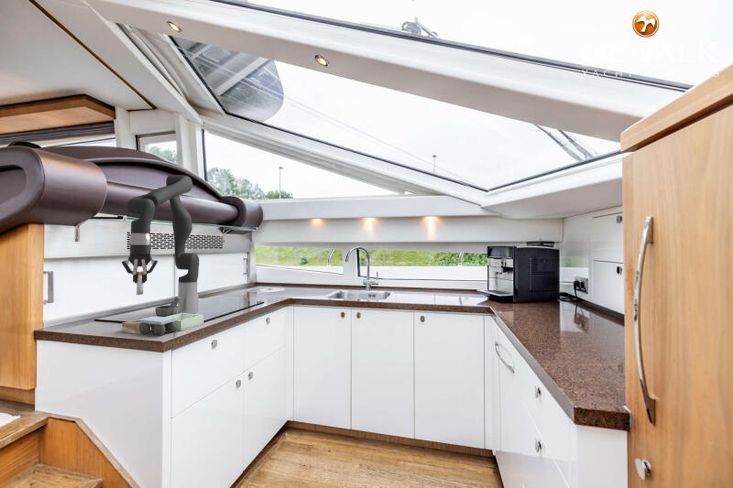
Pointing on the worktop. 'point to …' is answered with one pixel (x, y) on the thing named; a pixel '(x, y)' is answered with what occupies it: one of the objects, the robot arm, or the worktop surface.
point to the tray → (187, 321)
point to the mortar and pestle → (168, 308)
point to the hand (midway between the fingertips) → (139, 282)
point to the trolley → (157, 325)
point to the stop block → (131, 326)
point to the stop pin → (139, 283)
